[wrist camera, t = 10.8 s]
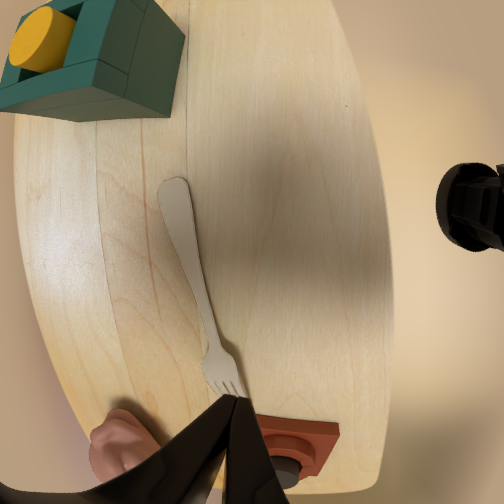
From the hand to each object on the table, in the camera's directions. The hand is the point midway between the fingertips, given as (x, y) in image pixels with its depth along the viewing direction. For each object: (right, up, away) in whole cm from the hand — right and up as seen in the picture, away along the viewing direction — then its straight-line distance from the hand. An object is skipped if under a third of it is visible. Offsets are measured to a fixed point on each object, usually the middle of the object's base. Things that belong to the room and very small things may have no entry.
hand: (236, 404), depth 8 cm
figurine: (-13, -16, +19) cm, 28 cm away
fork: (-3, 0, +14) cm, 14 cm away
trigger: (-10, +17, +2) cm, 20 cm away
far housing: (+3, -15, +17) cm, 23 cm away
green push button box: (-9, +19, +10) cm, 23 cm away
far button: (+3, -15, +14) cm, 21 cm away
